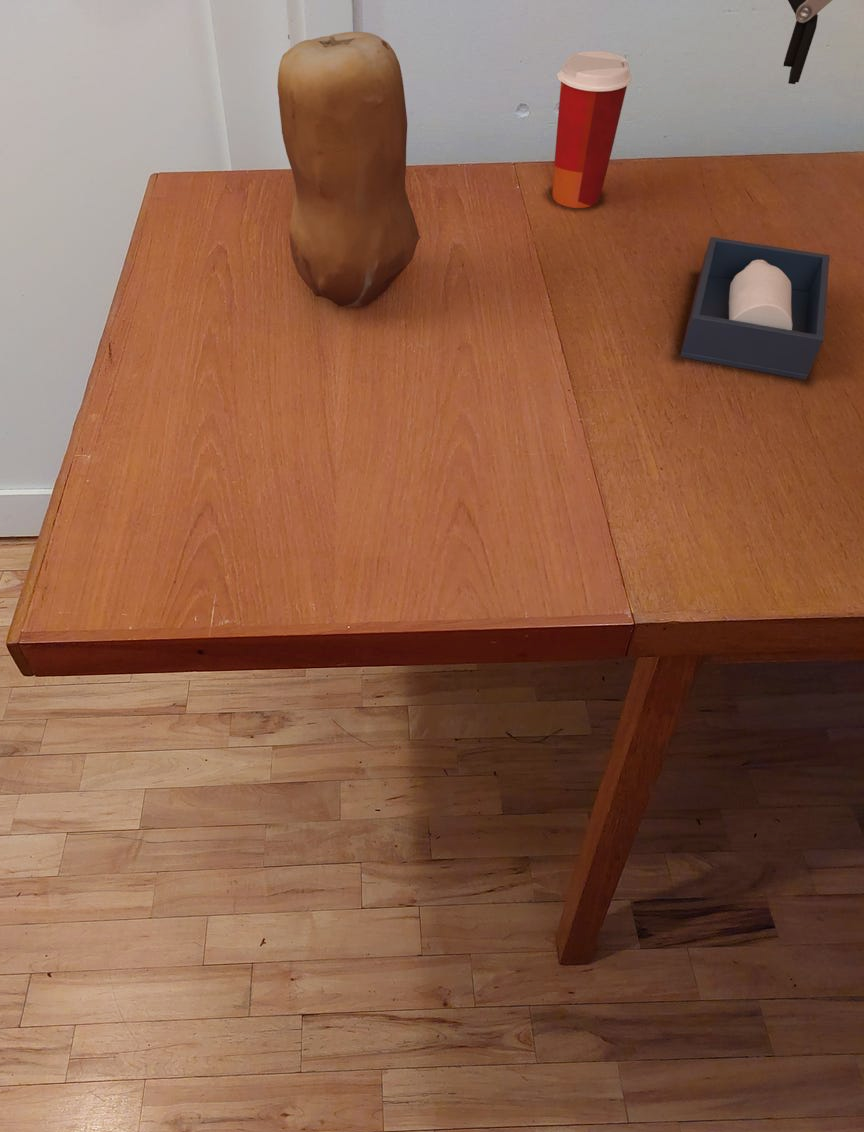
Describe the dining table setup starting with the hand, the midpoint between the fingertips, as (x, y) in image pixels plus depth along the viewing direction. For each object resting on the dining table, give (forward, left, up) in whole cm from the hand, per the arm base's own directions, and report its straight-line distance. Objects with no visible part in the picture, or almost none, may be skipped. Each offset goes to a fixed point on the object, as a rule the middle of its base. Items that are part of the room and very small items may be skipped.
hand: (859, 85), depth 68 cm
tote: (+7, -6, -26) cm, 28 cm away
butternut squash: (+33, +27, -26) cm, 50 cm away
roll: (+7, -6, -26) cm, 27 cm away
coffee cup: (+39, -8, -26) cm, 48 cm away
